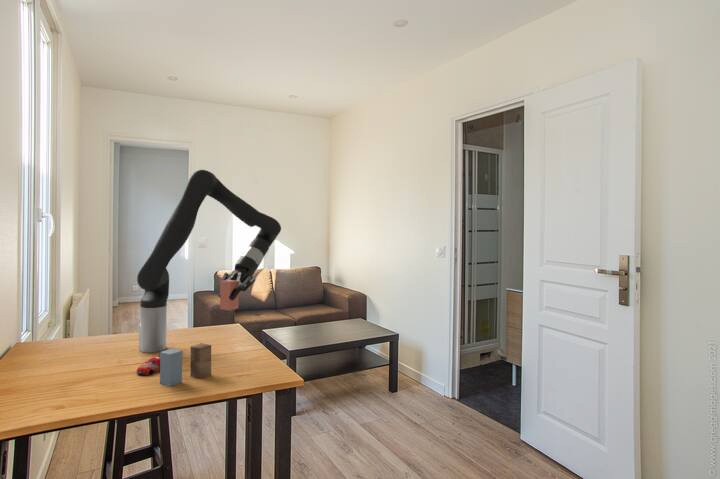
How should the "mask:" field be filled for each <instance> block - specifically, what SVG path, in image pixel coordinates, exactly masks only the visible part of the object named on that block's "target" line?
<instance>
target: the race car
mask: <svg viewBox="0 0 720 479" xmlns="http://www.w3.org/2000/svg"><path fill="white" fill-rule="evenodd" d="M158 371H159V372H160V355H158V356H154V357H151V358H150V359H148V360H147V361H144V363H143V364H142V365H140V366H139V367H137V368H136V374H137V375H141V376H142V375H143V376H146V375H147V376H149V375H153V374H155V373H157V372H158Z"/></svg>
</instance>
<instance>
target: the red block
mask: <svg viewBox="0 0 720 479" xmlns="http://www.w3.org/2000/svg"><path fill="white" fill-rule="evenodd" d="M219 282H220V284H219V285H220V286H219V287H220V288H219V292H220V297H219V310H224V311H233V310H237V309H239V307H240V306H239V304H240V301H239V299H240V298H239V297H240V296H239V294H240V292H239V293H238V295H237V296H236V298H235V299H234V300H231V299H230V298H229V295H230V294H231V292H232V291H233V289H235V286H236V284H237V281H236V280H224V281H221V280H220V281H219Z"/></svg>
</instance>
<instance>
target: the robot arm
mask: <svg viewBox="0 0 720 479" xmlns="http://www.w3.org/2000/svg"><path fill="white" fill-rule="evenodd" d="M206 197H209V198H212V199H214V200H216V201H217V202H219V203H220V204H221V205H223V206H224V207H225V208H226V209H227V210H228V211H229V212H230V213H231V214H232V215H233V216H235V217H236V218H237V219H238V220H240V221H241V222H243V223H244V224H246V225H247V226H248V227H250V228H254V227H258V228H260V229H259V232H258V233H257V235H256V236H255V238H253V240H251V242H250V244H249V245H248V246H247V248H246V249H245V250H244V252H243V253H242V254H241V256H240V257H239V259H238V260H237V261H236V263H235V264H234V269H233V270H232V271H231V273H228V272H224V273H223V275H222V278H221V280H220V281H224V280H236V281H237V284H236V286H235V289H233V291H232V292H231V294H230V295H229V298H230V299H231V300H234V299H235V298H236V296H237V295H238V293H239V294H240V293H241V292H246V291H247V290H248V289H249V288H250V287H251V286H252V285H253V284H254V282H256V279H255V277H254V274H255V273H256V271H257V269H258V268H259V267H260V265H261V263H262V262H263V260H264V257H265V256H266V255H267V253H268V251H269V250H270V247H271V245H272V244H273V242H274V241H275V240H276V239H277V237H278V235H279V234H280V233H281V230H282V226H281V224H280V222H279V221H278V220H277V219H275V218H274V217H272V216H269V215H267V214H266V213H262V212H260V211H259V210H257V209H256V208H255V207H253V206H252V205H251V204H249V203H248V202H246V201H245V200H243V199H242V198H241V197H239V195H237V194H235V193H233V191H231V190H230V189H228V187H227V186H225V184H223V183H222V182H221V180H219V179H218V177H216V175H215V174H214V173H213V172H212V171H209V170H205V169H198V170H195V171H193V172H192V174H191V175H190V177H189V179H188V181H187V185H186V187H185V189H184V192H183V195H182V196H181V199H180V200H179V202H178V203H177V205H176V207H175V209H173V212H172V213H171V215H170V217H169V219H168V221H167V223H166V224H165V226H164V228H163V230H162V232H161V234H160V236H159V238H158V240H157V242H156V244H155V246H154V248H153V250H152V252H151V254H150V255H149V257H148V258H147V259H146V261H145V262H144V264H143V265H142V267H140V270H139V271H138V273H137V276H136V281H137V284H138V286H139V287H140V289H142V290H144V293H143V296H142V298H141V299H140V318H139V319H140V322H139V323H140V324H139V326H138V350H140V352H142V353H157V352H162V351H166V349H167V329H168V328H167V324H168V323H167V320H168V318H167V317H168V316H167V314H168V313H167V311H168V310H167V306H168V304H167V301H168V298H169V295H170V294H169V291H170V290H169V289H170V274H169V270H168V269H167V267H168V265H169V263H170V261H171V260H172V259H173V257H175V255H177V253H179V251H180V250H181V248H182V247H183V246H184V245H185V243H186V242H187V241H188V239H189V236H190V235H191V233H192V231H193V229H194V226H195V224H196V221H197V218H198V217H197V215H198V213H199V209H200V207H201V205H202V204H203V202H204V200H205V198H206ZM217 296H218V298H220V291H219V292H218V294H217Z"/></svg>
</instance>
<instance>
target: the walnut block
mask: <svg viewBox="0 0 720 479" xmlns="http://www.w3.org/2000/svg"><path fill="white" fill-rule="evenodd" d="M189 373H190V377H191V378H195V379H198V380H202V379H205V378H207V377H210V376H212V344H208V343H202V342H201V343H197V344H193V345H191V346H190V372H189Z"/></svg>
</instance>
